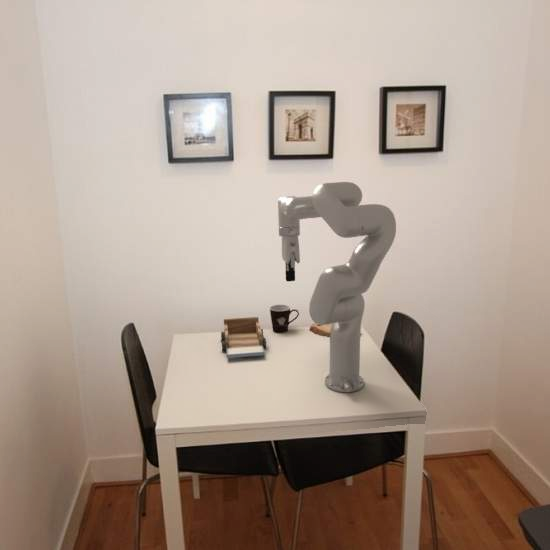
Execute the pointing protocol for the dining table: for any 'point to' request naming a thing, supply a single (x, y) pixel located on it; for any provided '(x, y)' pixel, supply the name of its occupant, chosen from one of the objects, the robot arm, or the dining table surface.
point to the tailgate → (245, 351)
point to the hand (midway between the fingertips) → (290, 280)
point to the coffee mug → (281, 318)
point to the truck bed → (242, 333)
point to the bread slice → (321, 329)
